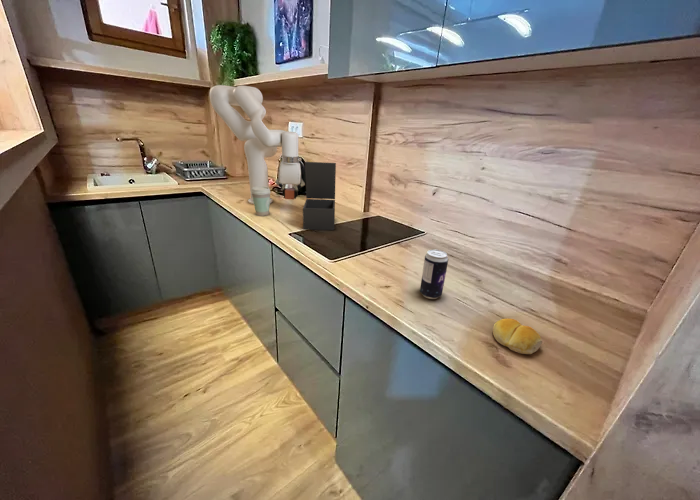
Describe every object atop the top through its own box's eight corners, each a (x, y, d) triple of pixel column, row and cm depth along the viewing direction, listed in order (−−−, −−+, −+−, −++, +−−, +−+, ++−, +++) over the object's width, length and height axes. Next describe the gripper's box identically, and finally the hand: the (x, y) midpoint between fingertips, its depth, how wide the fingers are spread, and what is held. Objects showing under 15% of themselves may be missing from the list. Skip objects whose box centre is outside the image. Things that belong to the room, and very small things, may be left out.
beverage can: (437, 303, 76) (445, 260, 72) (416, 296, 79) (422, 254, 74) (444, 293, 81) (451, 252, 76) (423, 287, 83) (429, 247, 79)
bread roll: (503, 323, 70) (507, 308, 68) (544, 345, 63) (550, 329, 61) (483, 335, 65) (487, 320, 64) (524, 361, 58) (530, 344, 57)
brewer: (334, 230, 124) (334, 209, 120) (303, 229, 123) (302, 208, 120) (334, 218, 138) (335, 199, 135) (306, 218, 137) (306, 198, 134)
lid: (335, 163, 124) (335, 162, 125) (304, 162, 123) (305, 161, 124) (335, 199, 134) (335, 198, 135) (306, 198, 133) (306, 197, 134)
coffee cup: (269, 217, 136) (267, 190, 131) (250, 216, 136) (248, 189, 131) (274, 211, 144) (272, 186, 139) (256, 211, 144) (254, 185, 139)
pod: (286, 196, 152) (286, 188, 150) (295, 197, 152) (295, 188, 151) (284, 199, 148) (284, 190, 146) (294, 199, 148) (294, 190, 147)
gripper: (308, 160, 147) (307, 197, 154) (273, 157, 146) (274, 194, 153) (307, 162, 140) (306, 201, 147) (270, 159, 139) (271, 198, 146)
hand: (290, 197), depth 150 cm, fingers closed on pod, 4 cm apart
